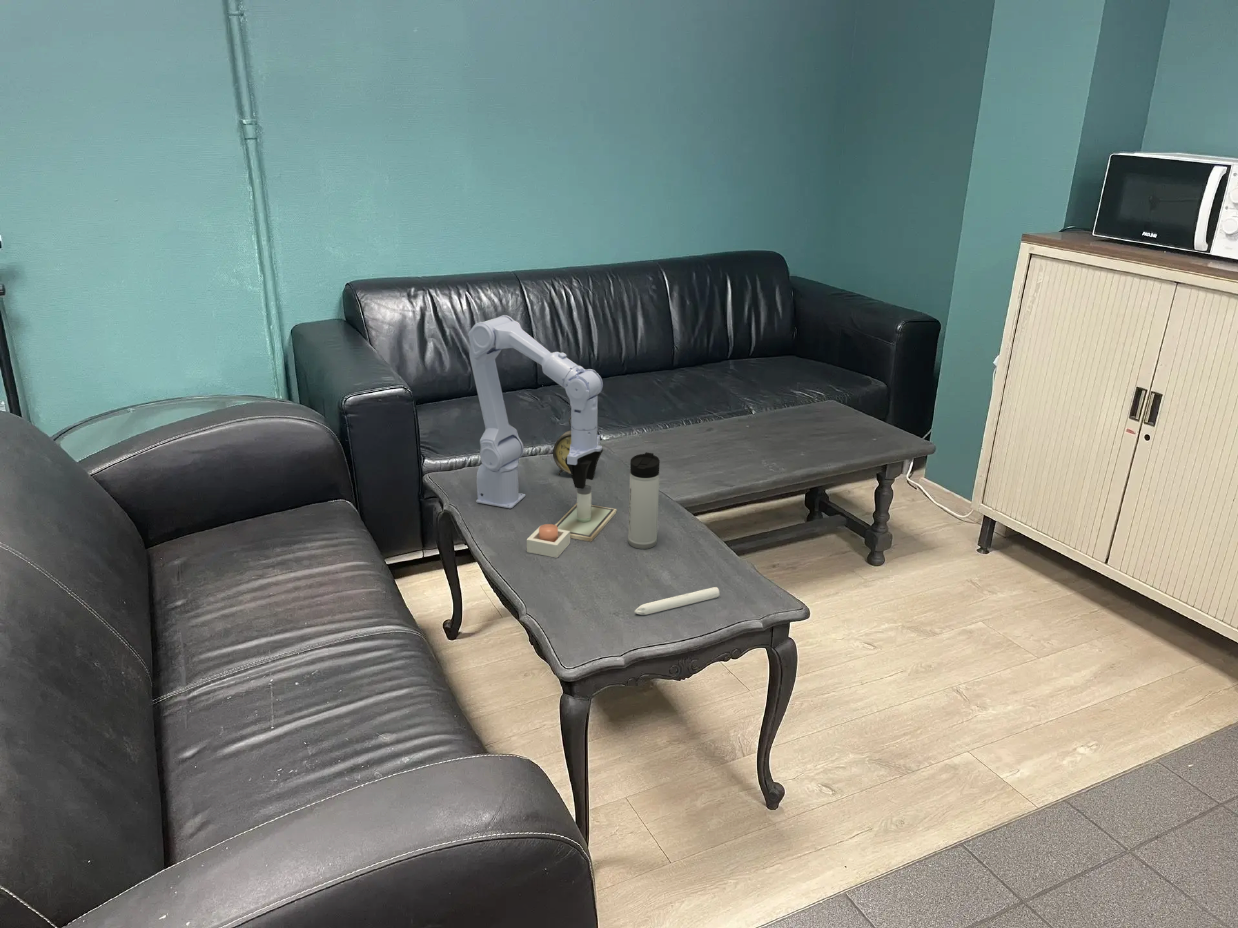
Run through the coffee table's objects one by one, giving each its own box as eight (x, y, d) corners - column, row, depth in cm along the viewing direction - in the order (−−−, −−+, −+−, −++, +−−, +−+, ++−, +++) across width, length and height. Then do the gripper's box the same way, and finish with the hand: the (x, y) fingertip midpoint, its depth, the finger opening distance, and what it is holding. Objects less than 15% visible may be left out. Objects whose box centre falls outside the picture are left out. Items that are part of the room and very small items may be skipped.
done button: (536, 543, 182) (535, 530, 181) (544, 535, 186) (543, 522, 185) (553, 546, 181) (553, 533, 180) (560, 538, 185) (560, 525, 184)
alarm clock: (552, 477, 220) (551, 417, 213) (557, 469, 225) (556, 410, 218) (594, 480, 218) (594, 420, 212) (598, 472, 223) (599, 413, 217)
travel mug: (660, 538, 189) (664, 454, 182) (651, 551, 184) (655, 465, 176) (633, 533, 191) (636, 450, 184) (624, 546, 185) (626, 461, 178)
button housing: (526, 551, 182) (526, 539, 181) (540, 537, 188) (540, 525, 187) (557, 557, 180) (556, 545, 179) (570, 543, 186) (569, 531, 185)
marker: (636, 619, 159) (637, 608, 159) (631, 613, 161) (632, 603, 160) (719, 599, 167) (720, 588, 166) (713, 594, 168) (714, 583, 168)
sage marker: (574, 521, 194) (574, 489, 191) (580, 515, 197) (580, 483, 194) (588, 523, 193) (588, 491, 190) (593, 517, 196) (593, 485, 193)
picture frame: (549, 533, 190) (549, 530, 190) (577, 505, 204) (577, 501, 204) (591, 541, 187) (591, 538, 187) (616, 512, 201) (616, 508, 201)
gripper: (588, 439, 179) (588, 498, 184) (613, 418, 192) (612, 474, 197) (558, 435, 181) (558, 493, 186) (583, 414, 194) (583, 469, 199)
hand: (584, 483), depth 192 cm, fingers open, 5 cm apart
